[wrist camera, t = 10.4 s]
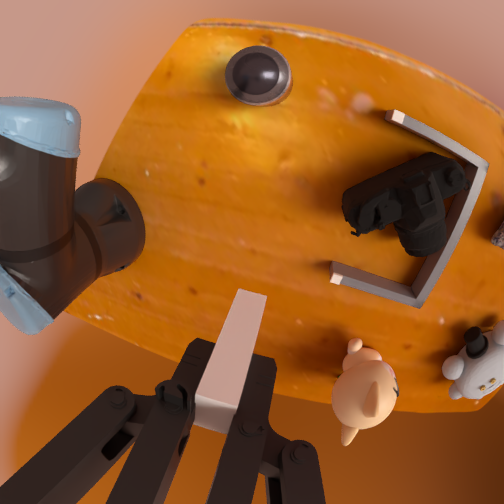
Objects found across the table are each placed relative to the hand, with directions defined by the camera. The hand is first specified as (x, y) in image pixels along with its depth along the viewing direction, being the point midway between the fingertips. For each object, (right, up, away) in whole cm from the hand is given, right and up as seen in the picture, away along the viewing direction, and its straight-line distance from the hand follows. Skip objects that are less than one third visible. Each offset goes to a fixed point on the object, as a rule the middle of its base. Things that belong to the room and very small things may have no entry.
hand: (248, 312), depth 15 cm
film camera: (+19, +9, +16) cm, 26 cm away
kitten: (+19, -15, +28) cm, 36 cm away
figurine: (+43, -15, +22) cm, 51 cm away
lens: (+2, +22, +13) cm, 26 cm away
